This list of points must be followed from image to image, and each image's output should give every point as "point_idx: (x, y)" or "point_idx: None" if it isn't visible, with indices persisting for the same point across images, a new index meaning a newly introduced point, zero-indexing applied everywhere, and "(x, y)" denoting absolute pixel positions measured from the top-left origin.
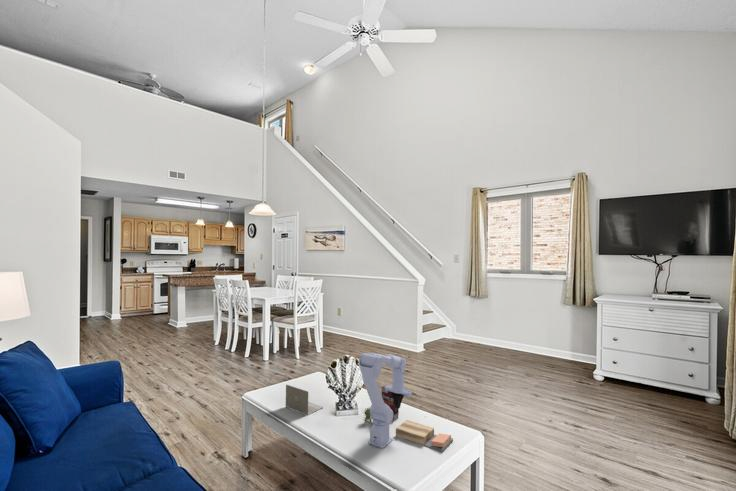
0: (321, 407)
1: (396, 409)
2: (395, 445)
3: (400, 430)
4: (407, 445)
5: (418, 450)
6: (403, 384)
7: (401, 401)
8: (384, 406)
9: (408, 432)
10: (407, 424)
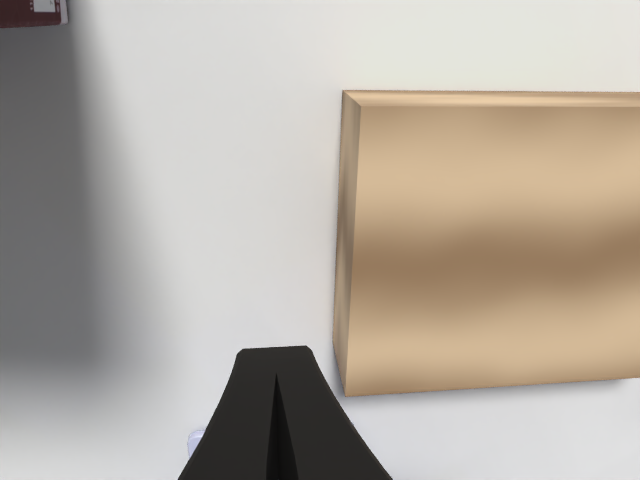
0: None
1: None
2: (411, 459)
3: (407, 386)
4: (502, 407)
5: (607, 412)
6: None
7: (375, 461)
8: None
9: (514, 385)
10: (431, 232)
